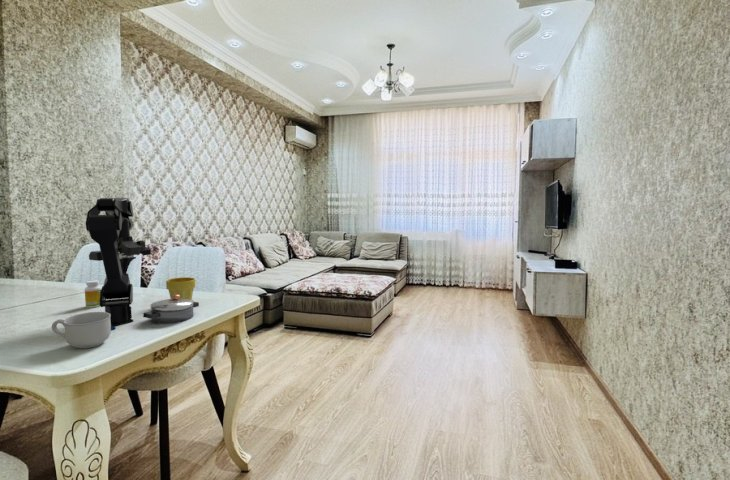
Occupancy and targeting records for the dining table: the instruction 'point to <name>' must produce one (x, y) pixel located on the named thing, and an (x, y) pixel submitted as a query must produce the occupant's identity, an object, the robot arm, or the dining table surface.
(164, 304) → the cooker lid
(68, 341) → the teacup
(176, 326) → the dining table surface
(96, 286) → the supplement bottle
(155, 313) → the cooker pot
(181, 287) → the plant pot
